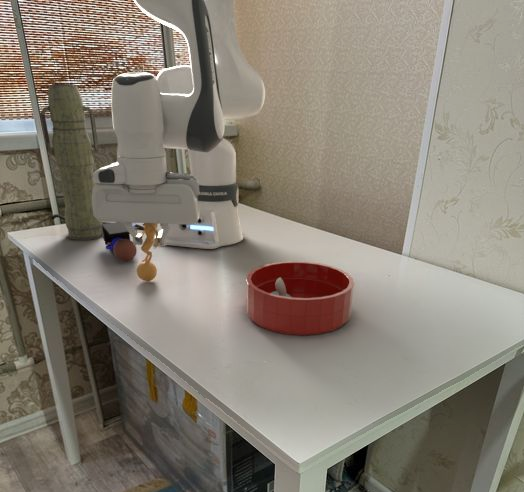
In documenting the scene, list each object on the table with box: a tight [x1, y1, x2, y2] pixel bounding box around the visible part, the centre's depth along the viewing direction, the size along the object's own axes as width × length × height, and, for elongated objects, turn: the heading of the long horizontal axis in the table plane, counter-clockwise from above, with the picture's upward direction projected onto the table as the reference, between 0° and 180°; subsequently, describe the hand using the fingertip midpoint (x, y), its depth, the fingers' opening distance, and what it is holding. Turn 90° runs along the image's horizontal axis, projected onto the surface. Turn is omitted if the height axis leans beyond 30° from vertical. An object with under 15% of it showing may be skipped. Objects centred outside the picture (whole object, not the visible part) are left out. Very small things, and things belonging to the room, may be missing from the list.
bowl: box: [245, 260, 355, 336], centre depth 90 cm, size 19×19×6 cm
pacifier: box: [271, 278, 291, 297], centre depth 89 cm, size 7×6×6 cm
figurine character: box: [101, 222, 138, 262], centre depth 118 cm, size 7×8×15 cm
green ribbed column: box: [39, 83, 103, 241], centre depth 124 cm, size 9×12×35 cm
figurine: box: [136, 223, 159, 282], centre depth 101 cm, size 8×6×12 cm
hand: (149, 244), depth 101 cm, fingers closed on figurine, 3 cm apart
